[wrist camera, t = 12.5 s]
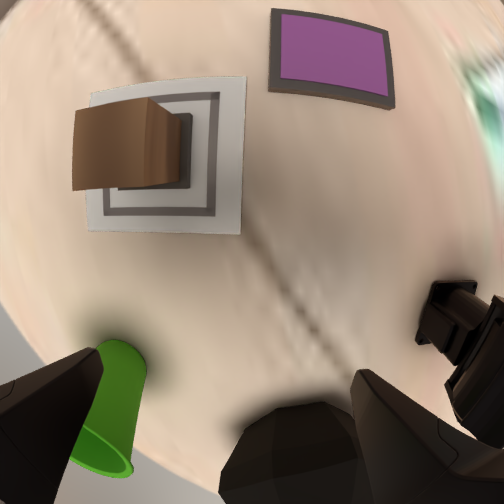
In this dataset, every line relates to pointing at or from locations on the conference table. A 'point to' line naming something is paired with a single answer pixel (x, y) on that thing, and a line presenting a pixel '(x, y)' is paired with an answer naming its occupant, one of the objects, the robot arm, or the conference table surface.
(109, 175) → the stamp
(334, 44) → the ink pad
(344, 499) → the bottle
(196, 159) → the frame
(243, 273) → the conference table surface
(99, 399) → the cup
